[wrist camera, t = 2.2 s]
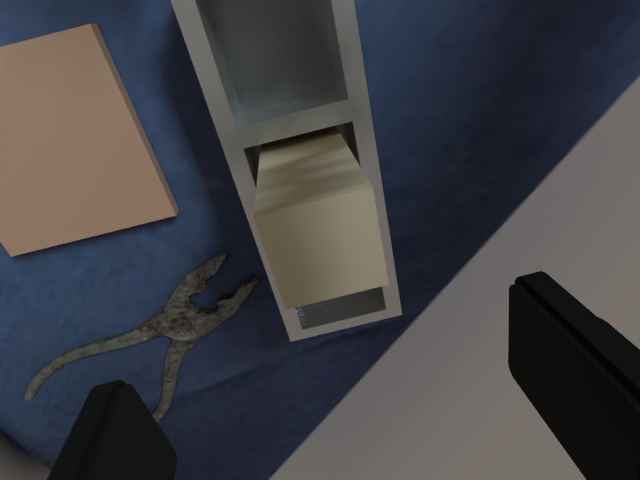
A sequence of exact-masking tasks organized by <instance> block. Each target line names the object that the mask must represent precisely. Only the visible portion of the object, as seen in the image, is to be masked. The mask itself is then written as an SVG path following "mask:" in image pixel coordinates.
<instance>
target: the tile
mask: <svg viewBox="0 0 640 480" xmlns="http://www.w3.org/2000/svg"><path fill="white" fill-rule="evenodd" d="M178 211H179V209H178V206H177V204H176V202H175V200H174V197H173V195H172V193H171V191H170V188H169V186H168V184H167V182H166V179H165V177H164V175H163V173H162V170H161V168H160V166H159V163H158V161H157V159H156V157H155V154H154V152H153V150H152V148H151V145H150V143H149V141H148V139H147V136H146V134H145V132H144V130H143V127H142V125H141V123H140V121H139V118H138V116H137V114H136V112H135V109H134V107H133V105H132V102H131V100H130V98H129V96H128V93H127V91H126V89H125V87H124V84H123V82H122V80H121V78H120V75H119V73H118V71H117V69H116V66H115V64H114V62H113V60H112V57H111V55H110V53H109V51H108V48H107V46H106V44H105V41H104V39H103V37H102V35H101V32H100V30H99V28H98V26H97V24H87V25H83V26H79V27H76V28H72V29H68V30H64V31H60V32H56V33H52V34H49V35H45V36H41V37H37V38H33V39H29V40H25V41H22V42H18V43H14V44H10V45H6V46H2V47H0V242H1V244H2V245H3V246H4V248H5V249H6V251H7V252H8V253H9V255H10V256H11V257H12V256H16V255H20V254H24V253H28V252H32V251H36V250H40V249H44V248H48V247H52V246H56V245H60V244H64V243H68V242H72V241H76V240H80V239H84V238H89V237H93V236H97V235H101V234H105V233H109V232H113V231H117V230H121V229H125V228H129V227H133V226H137V225H141V224H145V223H149V222H153V221H157V220H161V219H165V218H169V217H173V216H176V215H177V213H178Z"/></svg>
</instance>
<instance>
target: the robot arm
mask: <svg viewBox="0 0 640 480" xmlns="http://www.w3.org/2000/svg"><path fill="white" fill-rule="evenodd" d="M508 354H509V356H508V358H509V360H508V363H509V369H510V372H511V374H512V376H513V378H514V379H515V381H516V382H517V384H518V385H519V386H520V388H521V389H522V390H523V392H524V393H525V395H526V396H527V397H528V399H529V400H530V402H531V403H532V404H533V406H534V407H535V409H536V410H537V411H538V413H539V414H540V416H541V417H542V418H543V420H544V421H545V422H546V424H547V425H548V427H549V428H550V429H551V431H552V432H553V433H554V435H555V436H556V438H557V439H558V441H559V442H560V443H561V445H562V446H563V448H564V449H565V450H566V452H567V453H568V455H569V456H570V457H571V459H572V460H573V461H574V463H575V464H576V466H577V467H578V468H579V470H580V471H581V473H582V474H583V475H584V477H585V478H586V480H640V350H639V349H638V348H637V347H636V346H635V345H633V344H632V343H631V342H630V341H628V340H627V339H626V338H625V337H624V336H623V335H622V334H620V333H619V332H618V331H617V330H615V328H613V327H612V326H611V325H610V324H609V323H607V322H606V321H604V320H603V319H601V318H598V317H597V316H595V315H594V314H593V313H592V312H591V311H590V310H588V309H587V308H586V307H585V306H584V305H583V304H581V303H580V302H579V301H578V300H577V299H576V298H574V297H573V296H572V295H571V294H570V293H568V292H567V291H566V290H565V289H564V288H563V287H562V286H560V285H559V284H558V283H557V282H556V281H554V280H553V279H552V278H551V277H550V276H549V275H548V274H546V273H545V272H542V271H540V272H536V273H532V274H528V275H524V276H520V277H517V278H516V280H515V284H514V285H511V286H510V288H509V353H508ZM176 465H177V457H176V452H175V450H174V448H173V447H172V445H171V444H170V442H169V440H168V439H167V437H166V436H165V434H164V433H163V431H162V430H161V428H160V427H159V425H158V424H157V422H156V421H155V419H154V418H153V416H152V414H151V413H150V411H149V410H148V408H147V407H146V405H145V404H144V402H143V401H142V399H141V398H140V396H139V395H138V393H137V392H136V390H135V388H134V387H133V386H132V385H131V384H126V383H125V382H124V381H122V380H117V381H113V382H109V383H105V384H101V385H97V386H95V387H94V388H92V390H91V391H90V393H89V395H88V397H87V399H86V401H85V403H84V405H83V408H82V410H81V412H80V414H79V416H78V418H77V420H76V422H75V424H74V426H73V428H72V430H71V432H70V434H69V436H68V438H67V440H66V442H65V444H64V446H63V448H62V450H61V452H60V454H59V456H58V458H57V460H56V462H55V464H54V467H53V469H52V471H51V473H50V475H49V477H48V479H47V480H174V475H175V470H176Z"/></svg>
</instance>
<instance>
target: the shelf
mask: <svg viewBox="0 0 640 480" xmlns="http://www.w3.org/2000/svg"><path fill="white" fill-rule="evenodd" d="M171 3H172V6H173V9H174V11H175V14H176V17H177V20H178V23H179V26H180V29H181V31H182V34H183V37H184V40H185V43H186V46H187V48H188V51H189V54H190V57H191V60H192V63H193V66H194V68H195V71H196V74H197V77H198V80H199V83H200V85H201V88H202V91H203V94H204V97H205V100H206V102H207V105H208V108H209V111H210V114H211V117H212V120H213V122H214V125H215V128H216V131H217V134H218V137H219V139H220V142H221V145H222V148H223V151H224V154H225V157H226V159H227V162H228V165H229V168H230V171H231V174H232V176H233V179H234V182H235V185H236V188H237V191H238V193H239V196H240V199H241V202H242V205H243V208H244V211H245V213H246V216H247V219H248V222H249V225H250V228H251V230H252V233H253V236H254V239H255V242H256V245H257V248H258V250H259V253H260V256H261V259H262V262H263V265H264V267H265V270H266V273H267V276H268V279H269V282H270V284H271V287H272V290H273V293H274V296H275V299H276V302H277V304H278V307H279V310H280V313H281V316H282V319H283V321H284V324H285V327H286V330H287V333H288V336H289V338H290V341H291V342H292V341H296V340H300V339H304V338H308V337H313V336H317V335H321V334H325V333H329V332H333V331H337V330H342V329H346V328H350V327H354V326H358V325H362V324H366V323H370V322H375V321H379V320H383V319H387V318H391V317H395V316H399V315H402V310H401V304H400V297H399V291H398V284H397V278H396V271H395V265H394V258H393V252H392V245H391V239H390V232H389V226H388V219H387V213H386V206H385V200H384V193H383V187H382V180H381V174H380V167H379V161H378V155H377V148H376V142H375V135H374V129H373V122H372V116H371V109H370V103H369V96H368V90H367V83H366V77H365V70H364V64H363V57H362V51H361V44H360V38H359V31H358V25H357V18H356V12H355V5H354V0H171ZM331 126H336V127H337V129H338V131H339V132H340V134H341V136H342V137H343V139H344V141H345V142H346V144H347V145H348V147H349V149H350V150H351V152H352V154H353V155H354V157H355V159H356V160H357V162H358V164H359V165H360V167H361V169H362V170H363V172H364V174H365V175H366V177H367V179H368V180H369V182H370V184H371V185H372V187H373V192H374V198H375V204H376V210H377V216H378V222H379V228H380V234H381V240H382V246H383V252H384V258H385V264H386V270H387V276H388V282H389V285H385V286H381V287H377V288H373V289H369V290H365V291H361V292H357V293H353V294H348V295H344V296H340V297H336V298H332V299H328V300H324V301H320V302H316V303H312V304H307V305H303V306H299V307H295V308H291V309H287V310H285V308H284V305H283V302H282V299H281V296H280V293H279V290H278V287H277V285H276V282H275V279H274V276H273V273H272V270H271V267H270V264H269V261H268V258H267V255H266V252H265V250H264V247H263V244H262V241H261V238H260V235H259V232H258V229H257V226H256V223H255V220H254V217H253V215H254V205H255V196H256V187H257V177H258V168H259V158H260V149H261V144H264V143H268V142H272V141H276V140H280V139H284V138H288V137H292V136H296V135H300V134H303V133H307V132H311V131H315V130H319V129H323V128H327V127H331Z"/></svg>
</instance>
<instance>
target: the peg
mask: <svg viewBox="0 0 640 480" xmlns="http://www.w3.org/2000/svg"><path fill="white" fill-rule="evenodd" d="M253 217H254V220H255V223H256V226H257V229H258V232H259V235H260V238H261V241H262V244H263V247H264V250H265V252H266V255H267V258H268V261H269V264H270V267H271V270H272V273H273V276H274V279H275V282H276V285H277V287H278V290H279V293H280V296H281V299H282V302H283V305H284V308H285V310H287V309H291V308H295V307H299V306H303V305H307V304H312V303H316V302H320V301H324V300H328V299H332V298H336V297H340V296H344V295H348V294H353V293H357V292H361V291H365V290H369V289H373V288H377V287H381V286H385V285H389V282H388V276H387V270H386V264H385V258H384V252H383V246H382V240H381V234H380V228H379V222H378V216H377V210H376V204H375V198H374V192H373V187H372V185H371V184H370V182H369V180H368V179H367V177H366V175H365V174H364V172H363V170H362V169H361V167H360V165H359V164H358V162H357V160H356V159H355V157H354V155H353V154H352V152H351V150H350V149H349V147H348V145H347V144H346V142H345V141H344V139H343V137H342V136H341V134H340V132H339V131H338V129H337V127H336V126H331V127H327V128H323V129H319V130H315V131H311V132H307V133H303V134H300V135H296V136H292V137H288V138H284V139H280V140H276V141H272V142H268V143H264V144H261V149H260V158H259V168H258V177H257V187H256V196H255V205H254V215H253Z"/></svg>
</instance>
